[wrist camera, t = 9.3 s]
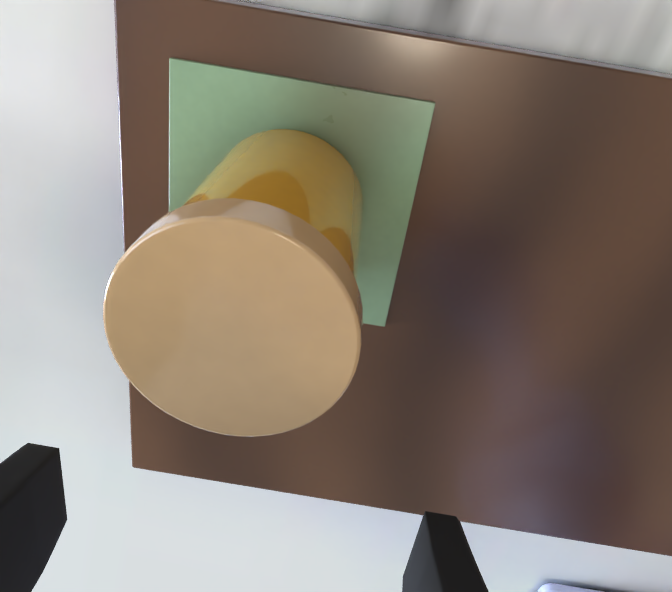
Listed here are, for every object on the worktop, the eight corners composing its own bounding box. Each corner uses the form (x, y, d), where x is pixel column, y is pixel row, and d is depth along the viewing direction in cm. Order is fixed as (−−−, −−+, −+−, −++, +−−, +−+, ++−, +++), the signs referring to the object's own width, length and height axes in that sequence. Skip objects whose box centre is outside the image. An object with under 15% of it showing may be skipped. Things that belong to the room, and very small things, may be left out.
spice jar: (384, 136, 16) (384, 243, 9) (355, 290, 18) (339, 455, 12) (208, 106, 16) (92, 194, 9) (202, 265, 18) (107, 417, 12)
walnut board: (938, 119, 16) (985, 132, 14) (667, 532, 24) (682, 562, 23) (131, -18, 15) (109, -17, 14) (142, 446, 24) (129, 471, 23)
